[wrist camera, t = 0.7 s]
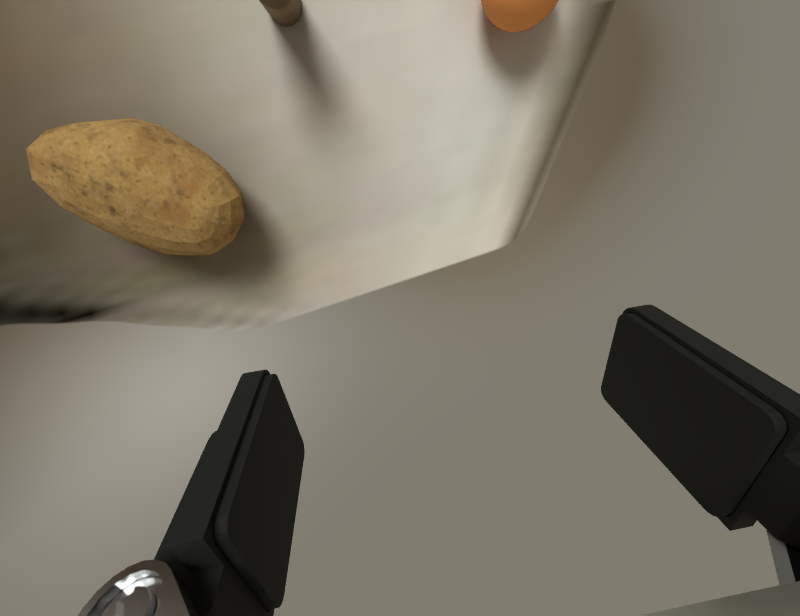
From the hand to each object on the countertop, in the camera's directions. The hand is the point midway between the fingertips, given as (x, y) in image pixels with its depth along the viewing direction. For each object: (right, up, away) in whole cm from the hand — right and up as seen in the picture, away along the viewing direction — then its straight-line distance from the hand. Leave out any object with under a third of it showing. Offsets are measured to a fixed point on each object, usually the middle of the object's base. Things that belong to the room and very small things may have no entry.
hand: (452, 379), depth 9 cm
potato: (-22, +13, +21) cm, 33 cm away
